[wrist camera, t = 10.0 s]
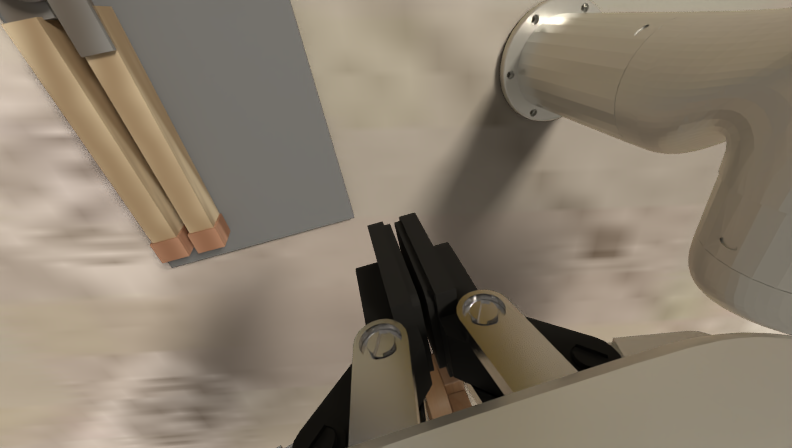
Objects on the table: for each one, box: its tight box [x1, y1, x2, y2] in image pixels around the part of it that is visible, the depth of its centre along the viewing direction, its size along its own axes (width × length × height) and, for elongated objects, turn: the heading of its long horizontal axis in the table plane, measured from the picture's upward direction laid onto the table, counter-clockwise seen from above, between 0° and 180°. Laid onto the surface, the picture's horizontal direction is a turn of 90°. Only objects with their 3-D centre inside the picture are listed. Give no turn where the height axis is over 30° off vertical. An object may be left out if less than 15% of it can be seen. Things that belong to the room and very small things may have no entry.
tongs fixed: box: [0, 0, 194, 263], centre depth 32 cm, size 5×27×4 cm, turn 11°
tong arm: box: [17, 0, 230, 254], centre depth 31 cm, size 6×27×4 cm, turn 10°
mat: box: [0, 0, 354, 268], centre depth 34 cm, size 22×32×1 cm
